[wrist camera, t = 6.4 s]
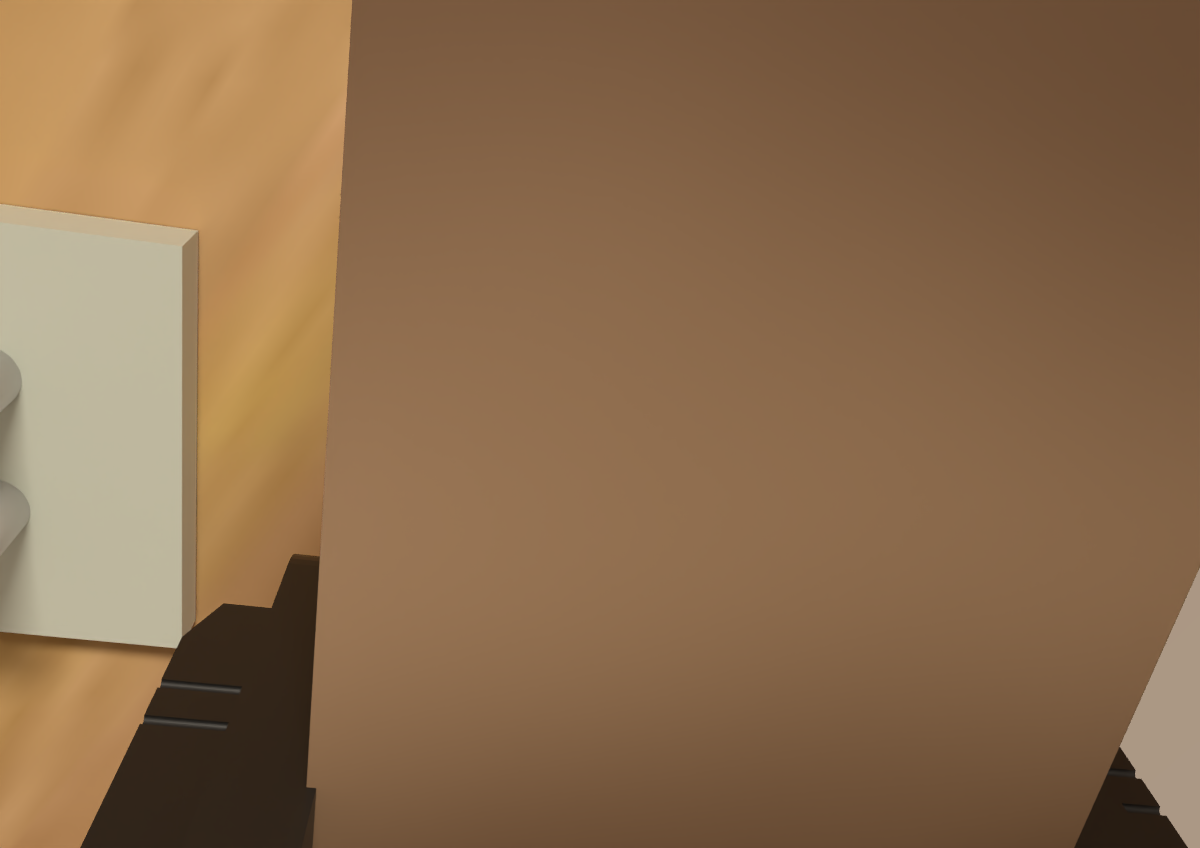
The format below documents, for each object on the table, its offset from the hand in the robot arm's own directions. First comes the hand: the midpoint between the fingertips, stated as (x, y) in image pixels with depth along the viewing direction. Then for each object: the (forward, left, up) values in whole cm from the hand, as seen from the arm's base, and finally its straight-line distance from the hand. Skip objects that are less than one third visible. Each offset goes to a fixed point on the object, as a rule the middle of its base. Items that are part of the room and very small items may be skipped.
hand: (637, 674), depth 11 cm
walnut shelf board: (0, 0, -2) cm, 2 cm away
